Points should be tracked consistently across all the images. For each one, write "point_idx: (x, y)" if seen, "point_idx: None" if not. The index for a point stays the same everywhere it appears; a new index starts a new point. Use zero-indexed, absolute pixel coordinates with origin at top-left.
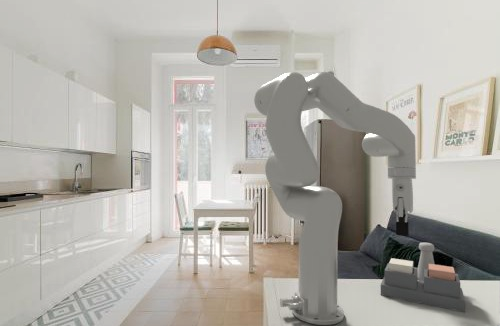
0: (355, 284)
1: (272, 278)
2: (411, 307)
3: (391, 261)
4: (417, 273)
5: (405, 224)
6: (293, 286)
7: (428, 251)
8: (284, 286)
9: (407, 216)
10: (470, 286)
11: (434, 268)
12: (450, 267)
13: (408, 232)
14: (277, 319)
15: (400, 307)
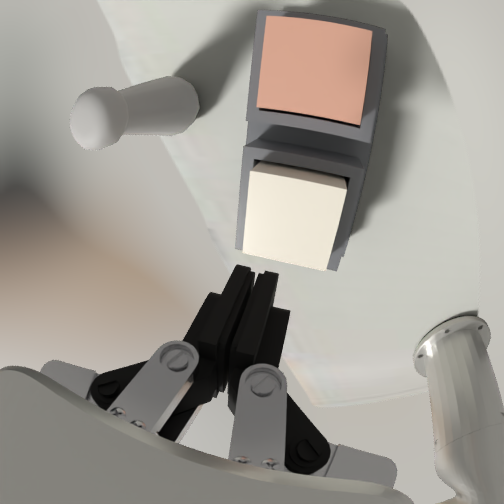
0: (285, 292)
1: (313, 404)
2: (404, 176)
3: (296, 259)
4: (256, 143)
5: (257, 353)
6: (343, 383)
7: (127, 106)
8: (347, 392)
9: (159, 382)
10: (147, 7)
11: (336, 96)
12: (279, 26)
13: (239, 275)
14: None
15: (412, 204)
